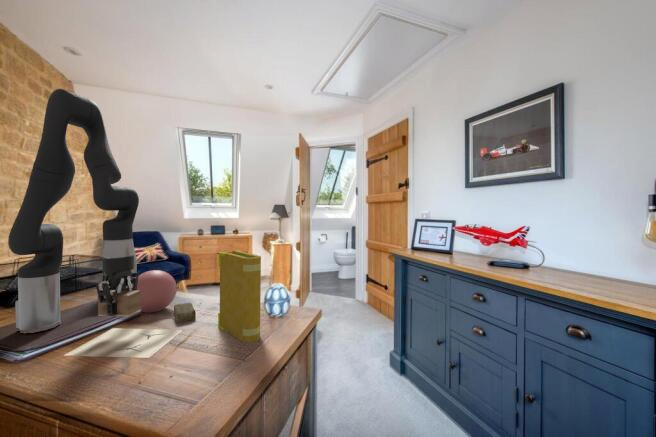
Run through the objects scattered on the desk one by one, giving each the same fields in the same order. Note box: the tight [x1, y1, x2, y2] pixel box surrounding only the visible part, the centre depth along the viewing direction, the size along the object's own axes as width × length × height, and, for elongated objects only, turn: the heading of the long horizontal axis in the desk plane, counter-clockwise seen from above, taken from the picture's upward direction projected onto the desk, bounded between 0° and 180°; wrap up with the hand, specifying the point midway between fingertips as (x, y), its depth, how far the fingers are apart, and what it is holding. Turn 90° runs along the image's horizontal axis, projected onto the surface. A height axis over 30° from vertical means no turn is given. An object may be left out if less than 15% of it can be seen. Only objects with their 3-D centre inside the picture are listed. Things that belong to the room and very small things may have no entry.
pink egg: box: [132, 269, 178, 313], centre depth 107 cm, size 15×20×15 cm
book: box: [217, 249, 262, 343], centre depth 89 cm, size 17×7×25 cm, turn 47°
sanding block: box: [97, 290, 141, 317], centre depth 83 cm, size 9×5×6 cm, turn 89°
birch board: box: [63, 327, 184, 359], centre depth 79 cm, size 22×16×2 cm
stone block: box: [173, 302, 197, 324], centre depth 97 cm, size 6×12×5 cm, turn 35°
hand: (119, 311), depth 83 cm, fingers closed on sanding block, 5 cm apart
